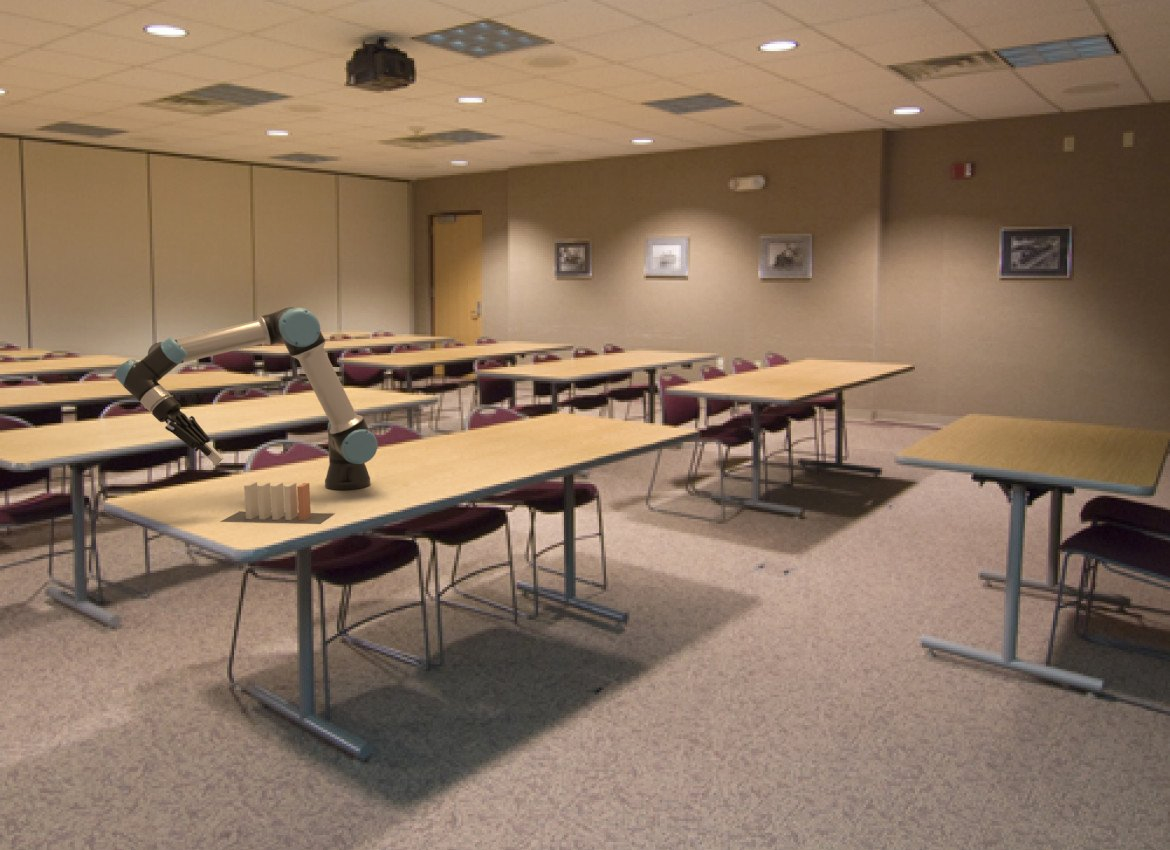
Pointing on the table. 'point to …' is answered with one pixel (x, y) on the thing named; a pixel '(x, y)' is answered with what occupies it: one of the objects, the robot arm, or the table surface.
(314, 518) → the mat
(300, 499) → the domino
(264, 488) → the domino
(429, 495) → the table surface
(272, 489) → the domino
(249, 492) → the domino
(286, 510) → the domino
